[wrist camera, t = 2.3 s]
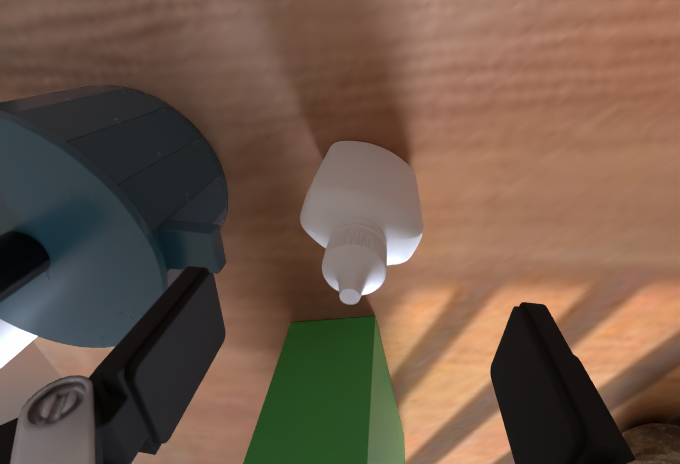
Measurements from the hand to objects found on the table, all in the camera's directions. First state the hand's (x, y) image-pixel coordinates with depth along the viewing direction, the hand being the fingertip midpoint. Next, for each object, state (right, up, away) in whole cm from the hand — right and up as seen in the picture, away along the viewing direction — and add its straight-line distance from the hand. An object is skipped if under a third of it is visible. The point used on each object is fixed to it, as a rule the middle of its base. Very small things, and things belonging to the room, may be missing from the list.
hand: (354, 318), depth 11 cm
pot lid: (-16, +2, +6) cm, 17 cm away
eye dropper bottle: (+1, +7, +11) cm, 13 cm away
